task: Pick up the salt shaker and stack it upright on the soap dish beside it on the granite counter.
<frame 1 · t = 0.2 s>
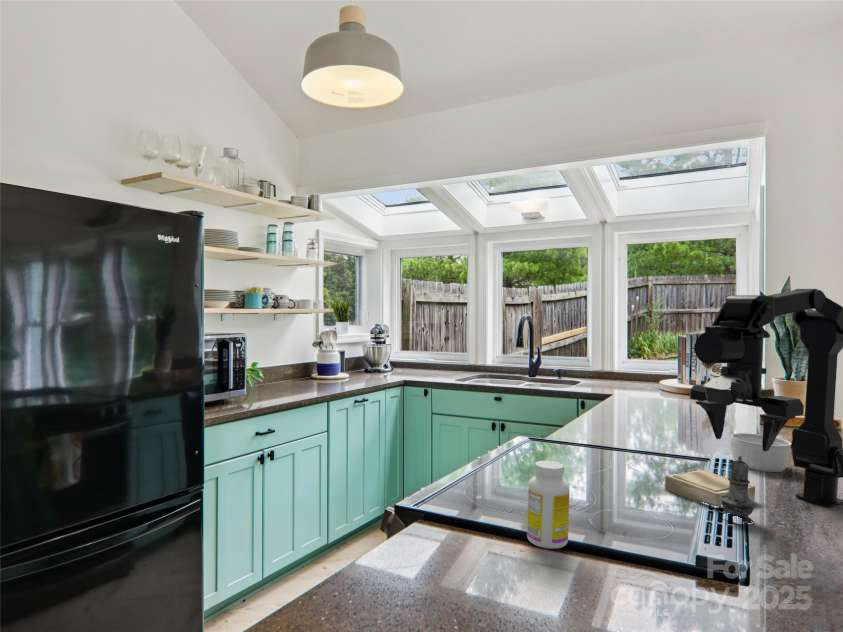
hand: (741, 444, 104), 14 cm above the cooktop, fingers open, 9 cm apart
salt shaker: (736, 520, 104), on the cooktop
soap dish: (708, 495, 117), on the cooktop
ramekin: (759, 466, 140), on the cooktop
supplement bottle: (546, 542, 91), on the cooktop
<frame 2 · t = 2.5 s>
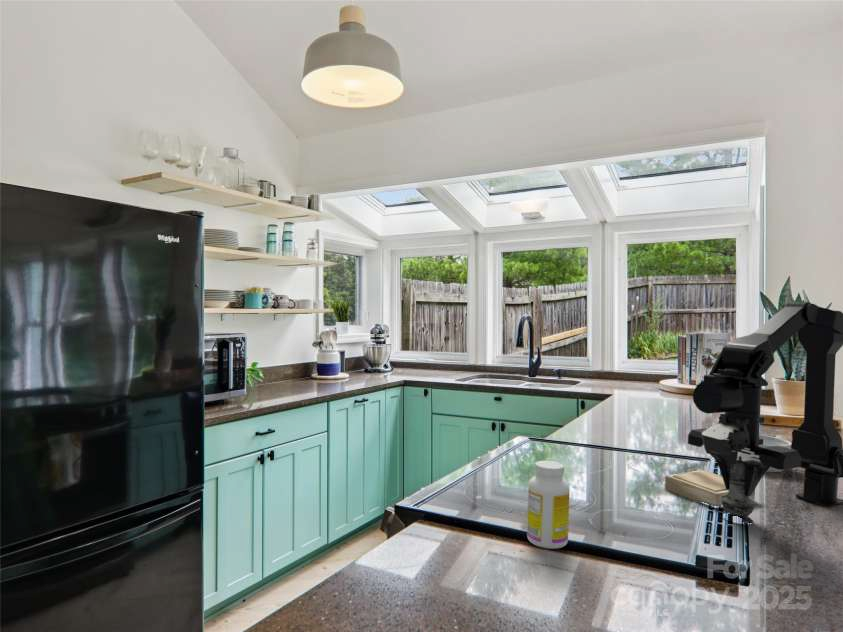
hand: (738, 492, 104), 5 cm above the cooktop, fingers closed on salt shaker, 3 cm apart
salt shaker: (736, 520, 104), on the cooktop, touching gripper
everything else where it was.
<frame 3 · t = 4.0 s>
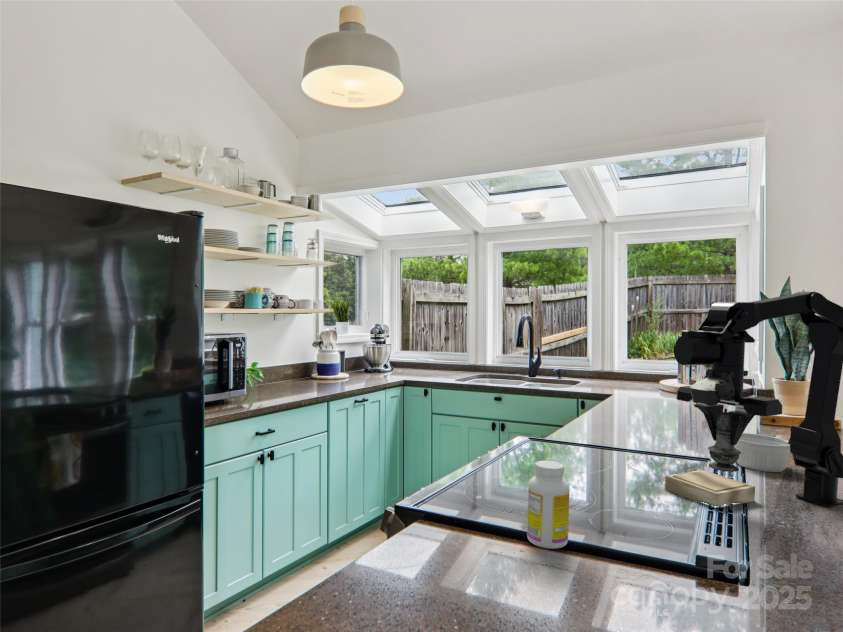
hand: (724, 442, 110), 13 cm above the cooktop, fingers closed on salt shaker, 3 cm apart
salt shaker: (723, 468, 110), point 7 cm above the cooktop, touching gripper
everything else where it was.
when the fingers open (9 cm above the cooktop, at t = 5.3 s): salt shaker stays where it is, resting on soap dish.
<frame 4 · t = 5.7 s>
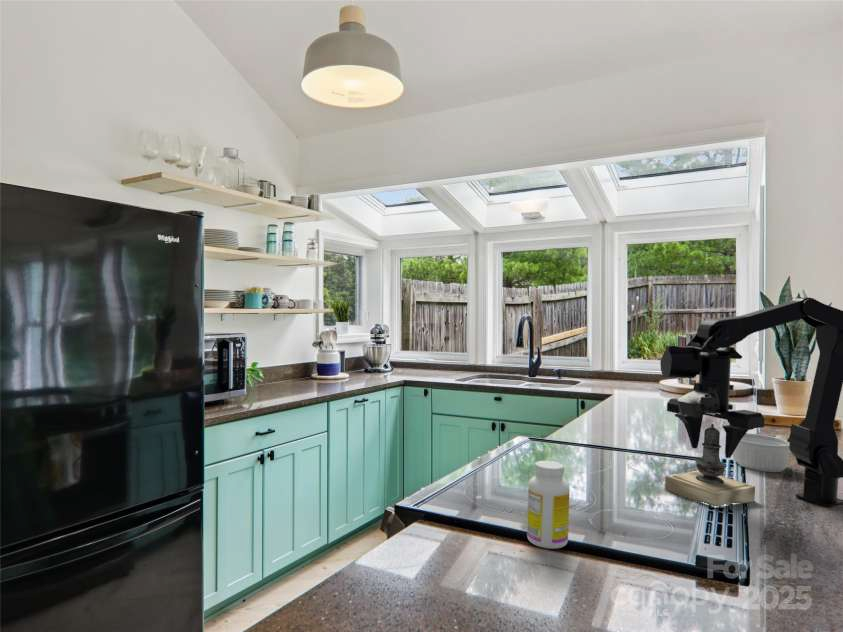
hand: (710, 452, 116), 9 cm above the cooktop, fingers open, 7 cm apart
salt shaker: (709, 480, 117), point 3 cm above the cooktop, touching soap dish
everything else where it was.
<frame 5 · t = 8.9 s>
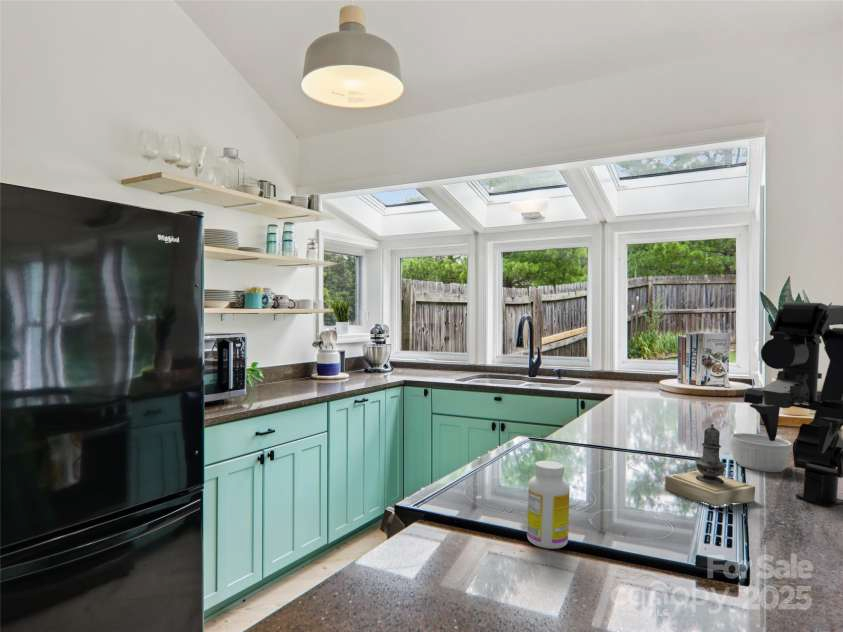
hand: (796, 446, 108), 13 cm above the cooktop, fingers open, 9 cm apart
nothing on the cooktop moved.
at the end: salt shaker inside the target area on the soap dish (0.0 cm from its centre), point 3.1 cm above the soap dish's base; salt shaker tilted 0°; the gripper is holding nothing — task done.
